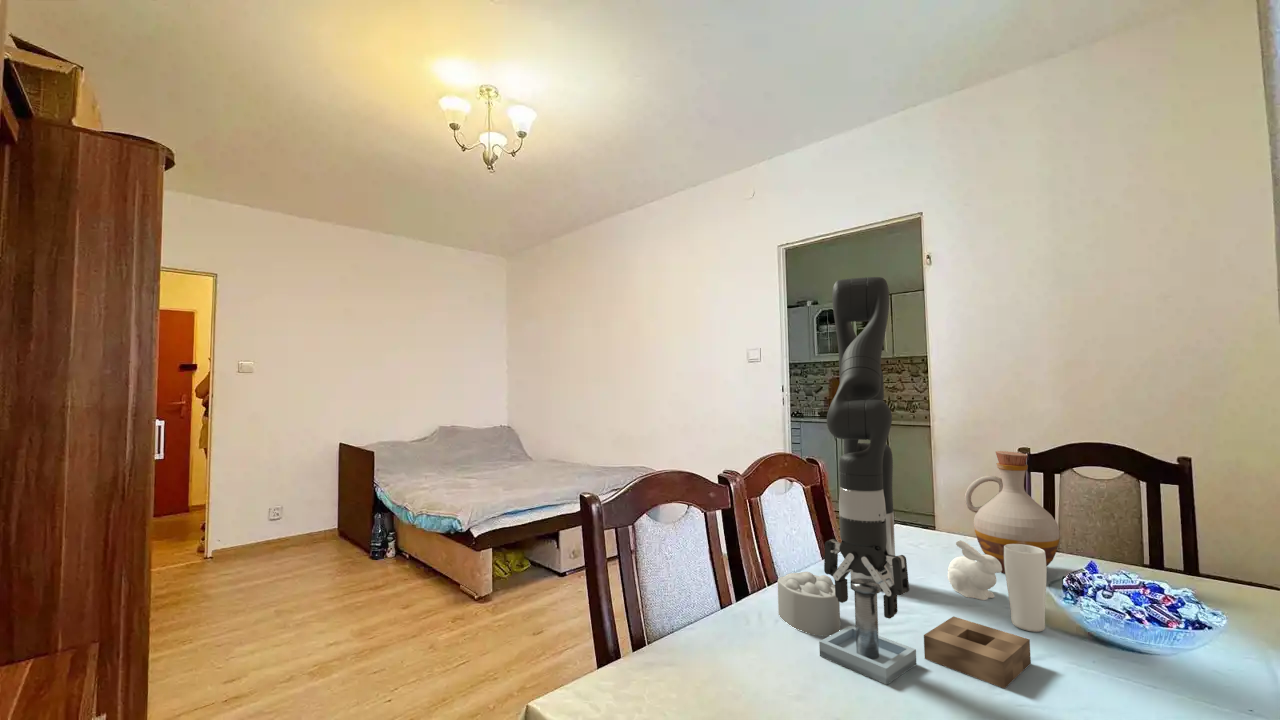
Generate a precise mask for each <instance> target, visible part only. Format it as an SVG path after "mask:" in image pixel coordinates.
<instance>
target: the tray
mask: <svg viewBox="0 0 1280 720" xmlns="http://www.w3.org/2000/svg"><path fill="white" fill-rule="evenodd" d="M878 638H879V658H877V659H873V660H872V659H869V658H867V657H864V656H862V655H859V654H857V653H856V626H853V625H848V626H846V627H845V628H843V629H840V631H838V632H837V633H835V634H833V635H831V636H826V637H825V638H823V639H821V640H819V643H818V644H819V656H820V657H821V658H823V659H826V660H828V661H830V660H831V662H833V663H835V664H837V665H839V664H840V665H839V666H842V667H844V668H846V669H848V670H851V671H853V672H856V673H858V674H860V675H863V676H865V677H867V678H870V679H871V680H875V681H877V682H879V683H881V684H884V685H886V686H887V685H889V684H890V683H892V682H894V681H896V680H897V679H898V678H899V677H901V676H902V675H904V674H905V673H906V672H908V671H909V670H911V669H912V668H914V667H915V666H916V665H917V649H916V648H914V647H911V646H908V645H905V644H902V643H900V642H898V641H894V640H893V639H889V638H887V637H884V636H881V635H878Z"/></svg>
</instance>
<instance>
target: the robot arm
mask: <svg viewBox="0 0 1280 720" xmlns="http://www.w3.org/2000/svg"><path fill="white" fill-rule="evenodd" d="M889 291H890V290H889V284H888V282H887V280H886V279H885V278H883V277H882V276H867V277H866V276H865V277H856V278H855V277H853V278H844V279H839V280H836V281H835V282H834V285H833V287H832V295H831V297H832V300H831V301H832V310H833V318H834V319H833V320H834V324H835V331H836V333H835V334H836V338H837V350H838V366H839V367H838V368H839V369H838V371H839V373H838V374H839V385H838V387H837V390H836V393H835V395H834V397H833V398H832V400H831V402H830V405H829V407H828V411H827V415H826V426H827V429H828V431H829V432H830V434H831V435H832V436H833V437H835V438H837V439H840V440H843V454H842V455H841V456H840V457H839V462H838V465H839V466H838V467H839V468H838V469H839V495H838V511H839V513H838V514H839V537H840V540H841V541H840V542H839V541H838V540H837V539H836V538H832V539H829V540H826V541H825V542H824V558H823V559H824V561H823V563H824V565H823V571H824V573H825V575H830V576H831V577H832V578H833V580H834V585H835V595H836V598H838V602H840V603H842V604H844V603H845V602H847V601H848V600H849V593H848V592H849V591H848V579H847V578H846V577H848V575H849V574H850V581H851V580H852V579H856V578H865V579H871V580H874V581H875V582H876V583H878V584H879V585H880V587H881V591H883V592H884V593H883V595H882V596H883V616H884V618H886V619H888V620H890V619H892V618H894V617H895V615H897V614H898V596H900V597H901V596H902V595H904V594H906V593H909V591H910V584H909V573H908V564H907V563H908V562H907V557H906V556H905V555H903V554H900V555H896V545H895V544H896V541H895V538H896V537H895V522H894V521H895V518H894V515H895V514H894V502H893V501H894V499H893V497H894V496H893V472H894V470H893V469H894V465H893V464H894V462H893V461H894V460H893V459H894V458H893V452H892V448H891V447H890V446H889V445H888V444H887V441H888V438H889V435H890V431H891V427H892V422H893V413H892V411H891V410H892V409H891V408H890V407H889V405H888V404H887V403H886V402H885V401H884V400H885V391H884V389H885V388H884V373H883V370H882V353H883V347H884V342H885V336H886V331H887V326H888V318H889V311H890V292H889ZM853 322H855V323H856V322H867V324H866V325H865V327H864V328H863V330H862V331H860V333H859V334H858V335H856V334H857V333H856V332H855V330H854V327H853V325H852V323H853ZM860 440H861V441H862V440H863V441H864V440H866V441H867V440H868V441H870V442H869V443H868V442H867V443H865V442H859V441H860ZM839 554H841V555H842V557H843V560H842V562H840V564H839V563H838V561H839V557H838V556H839ZM838 564H839V566H838Z"/></svg>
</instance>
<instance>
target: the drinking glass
mask: <svg viewBox="0 0 1280 720" xmlns="http://www.w3.org/2000/svg"><path fill="white" fill-rule="evenodd" d="M1004 567H1005V574H1004V575H1005V580H1006V586H1007V595H1008V601H1009V608H1010V620H1011V623H1012V624H1013V626H1014V627H1016V628H1018V629H1019V630H1023V631H1025V632H1026V631H1027V632H1033V633H1040V632H1043V631H1044V630H1045V629H1046V596H1047V579H1048V573H1047V572H1048V566H1046V555H1045V551H1044V550H1043V549H1041V548H1038V547H1034V546H1030V545H1023V544H1007V545H1005V546H1004Z"/></svg>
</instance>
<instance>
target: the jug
mask: <svg viewBox="0 0 1280 720" xmlns="http://www.w3.org/2000/svg"><path fill="white" fill-rule="evenodd" d="M995 454H996V457H997V460H998V462H997V463H996V467H997V469H998V471H999V473H1000V477H998V476H997V475H983V476H982V477H979V478H977V479H975V480H974V481H972V482H971V483H970V484H969V485H968V487H967V489H966V491H965V494H964V503H965V505H966V508H967V509H968V510H969V511H970V512H972V513H975V514H974V518H973V526H974V527H973V528H974V533H975V536H976V539H977V542H978V544H979V546H980V548H981V550H982V552H983V553H984V554H986V555H991V556H993V557H995V558H996V559H997V560H998V561H999V562H1000V563H1001V566H1002V571H1001V572H1000V573H1001V574H1004V575H1005V567H1004V546H1005V545H1007V544H1023V545H1030V546H1034V547H1038V548H1041V549H1043V550H1044V551H1045V555H1046V566H1047V567H1048V566H1049V565H1050V564H1051V563H1052V562H1053V560H1054V558H1055V556H1056V553H1057V552H1058V547H1059V544H1060V538H1061V537H1060V536H1061V535H1060V534H1061V531H1060V528H1059V525H1058V522H1057V521H1056V520H1055V518H1054V517H1053V515H1052V514H1051V513H1050V512H1049V511H1048V510H1046V509H1045V508H1044V507H1043V506H1042V505H1040V504H1039V503H1038V502H1037V501H1036V500H1035V499H1033V498H1032V497H1031V496H1030V495H1029V494H1028V493H1027V492H1026V490H1025V475H1026V471H1028V467H1029V465H1028V464H1026V462H1027V459H1028V456H1029V455H1028V454H1026V453H1023V452H1022V453H1021V452H1015V451H1007V450H996V451H995ZM987 482H994V483H997V484H998V485H999V487H998V488H999V490H998V493H996V495H994V496H993V497H992V498H991V499H989V500H988V501H986V502H984V504H983V505H980V506H974V504H973V503H972V495H973V493H974V491H975V490H976V488H978V487H979V486H980V485H982V484H984V483H987Z"/></svg>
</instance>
